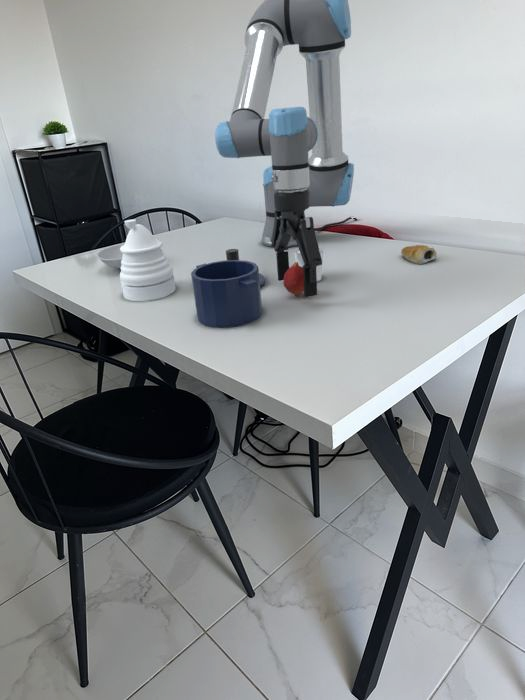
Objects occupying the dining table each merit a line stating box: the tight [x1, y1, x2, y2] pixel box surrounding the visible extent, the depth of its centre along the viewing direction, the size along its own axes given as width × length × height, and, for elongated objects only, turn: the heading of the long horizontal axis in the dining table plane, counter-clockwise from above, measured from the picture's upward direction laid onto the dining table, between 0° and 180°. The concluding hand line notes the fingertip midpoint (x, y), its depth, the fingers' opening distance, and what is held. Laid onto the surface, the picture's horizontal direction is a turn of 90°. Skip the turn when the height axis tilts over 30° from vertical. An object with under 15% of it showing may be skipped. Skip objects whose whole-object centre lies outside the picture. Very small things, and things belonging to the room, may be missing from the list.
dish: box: [95, 243, 125, 269], centre depth 147 cm, size 18×14×5 cm
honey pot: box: [119, 219, 177, 302], centre depth 123 cm, size 13×13×18 cm
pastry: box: [400, 244, 437, 265], centre depth 133 cm, size 9×7×4 cm
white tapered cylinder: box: [294, 248, 324, 282], centre depth 124 cm, size 7×7×7 cm
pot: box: [190, 259, 263, 329], centre depth 107 cm, size 14×19×10 cm
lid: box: [225, 248, 266, 286], centre depth 125 cm, size 15×15×9 cm
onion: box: [283, 261, 304, 297], centre depth 114 cm, size 6×6×8 cm
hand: (296, 287), depth 115 cm, fingers open, 13 cm apart
